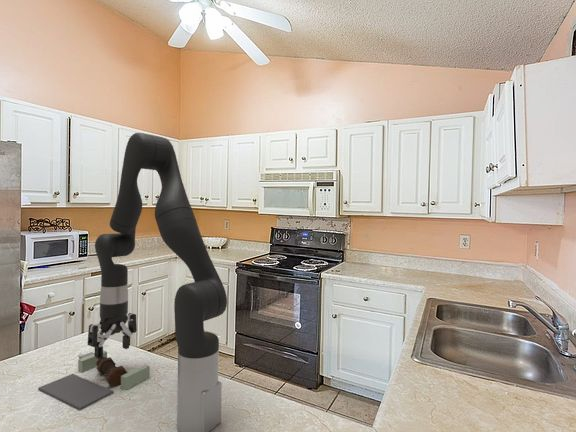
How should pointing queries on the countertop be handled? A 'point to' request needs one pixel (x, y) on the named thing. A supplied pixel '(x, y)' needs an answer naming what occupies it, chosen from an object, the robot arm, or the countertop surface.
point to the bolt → (111, 371)
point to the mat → (76, 391)
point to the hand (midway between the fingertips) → (113, 353)
